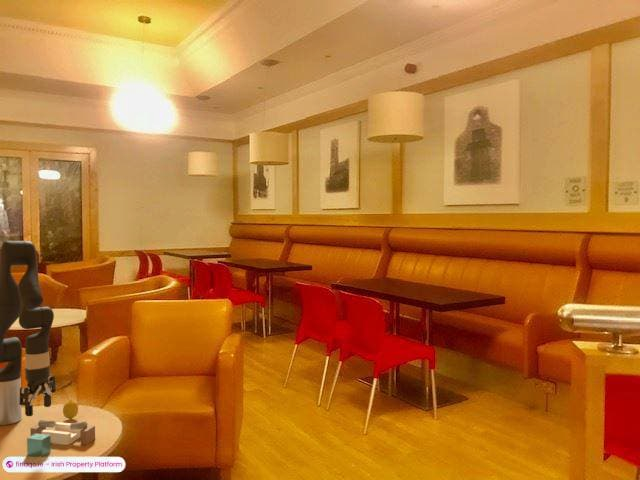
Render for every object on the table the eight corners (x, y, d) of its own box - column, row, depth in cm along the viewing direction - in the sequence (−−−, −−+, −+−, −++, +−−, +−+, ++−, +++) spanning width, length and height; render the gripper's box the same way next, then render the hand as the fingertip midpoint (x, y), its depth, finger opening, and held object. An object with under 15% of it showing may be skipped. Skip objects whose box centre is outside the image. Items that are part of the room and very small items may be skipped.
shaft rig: (26, 440, 192) (26, 420, 192) (43, 430, 201) (43, 411, 200) (83, 447, 187) (82, 427, 187) (98, 436, 196) (98, 417, 195)
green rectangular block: (27, 455, 181) (26, 438, 180) (35, 449, 185) (35, 433, 184) (42, 457, 180) (42, 439, 179) (50, 451, 183) (50, 435, 183)
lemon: (81, 417, 214) (80, 398, 213) (73, 422, 208) (73, 402, 208) (68, 416, 214) (67, 397, 214) (60, 421, 209) (59, 402, 208)
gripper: (43, 358, 188) (44, 403, 189) (12, 370, 174) (13, 418, 175) (61, 360, 187) (62, 404, 187) (31, 371, 173) (32, 420, 174)
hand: (38, 411), depth 181 cm, fingers open, 8 cm apart
